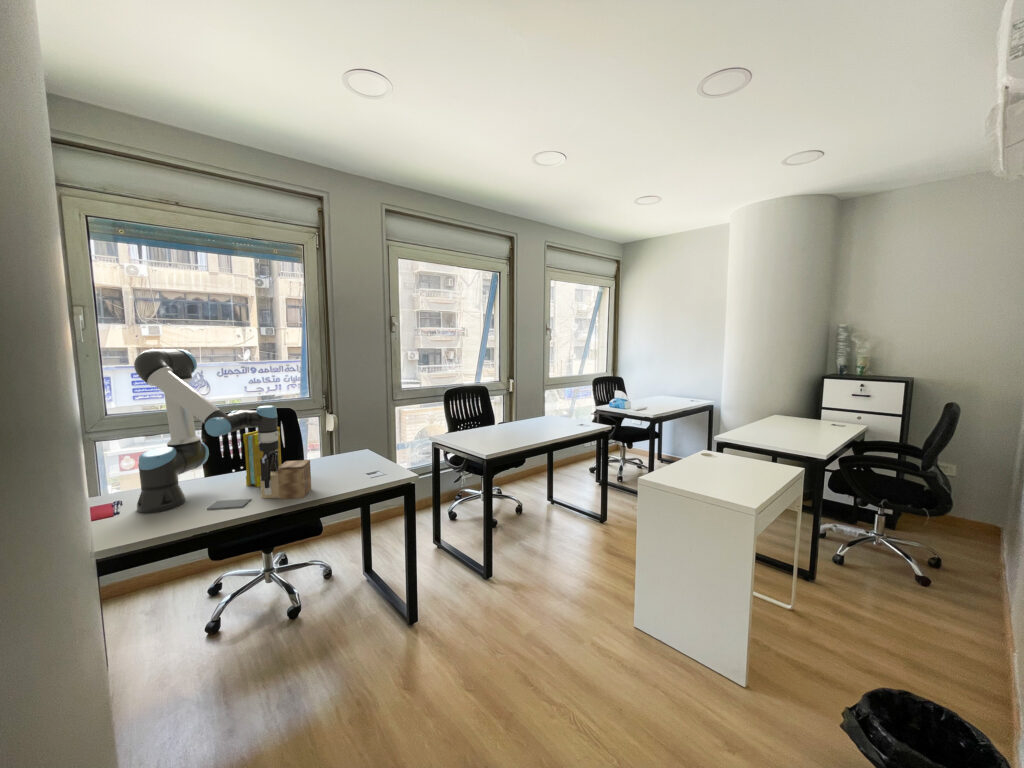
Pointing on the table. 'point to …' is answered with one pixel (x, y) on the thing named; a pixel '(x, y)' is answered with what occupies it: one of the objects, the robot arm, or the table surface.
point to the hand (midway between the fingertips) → (271, 491)
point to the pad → (229, 504)
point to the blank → (274, 486)
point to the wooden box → (294, 479)
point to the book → (255, 457)
